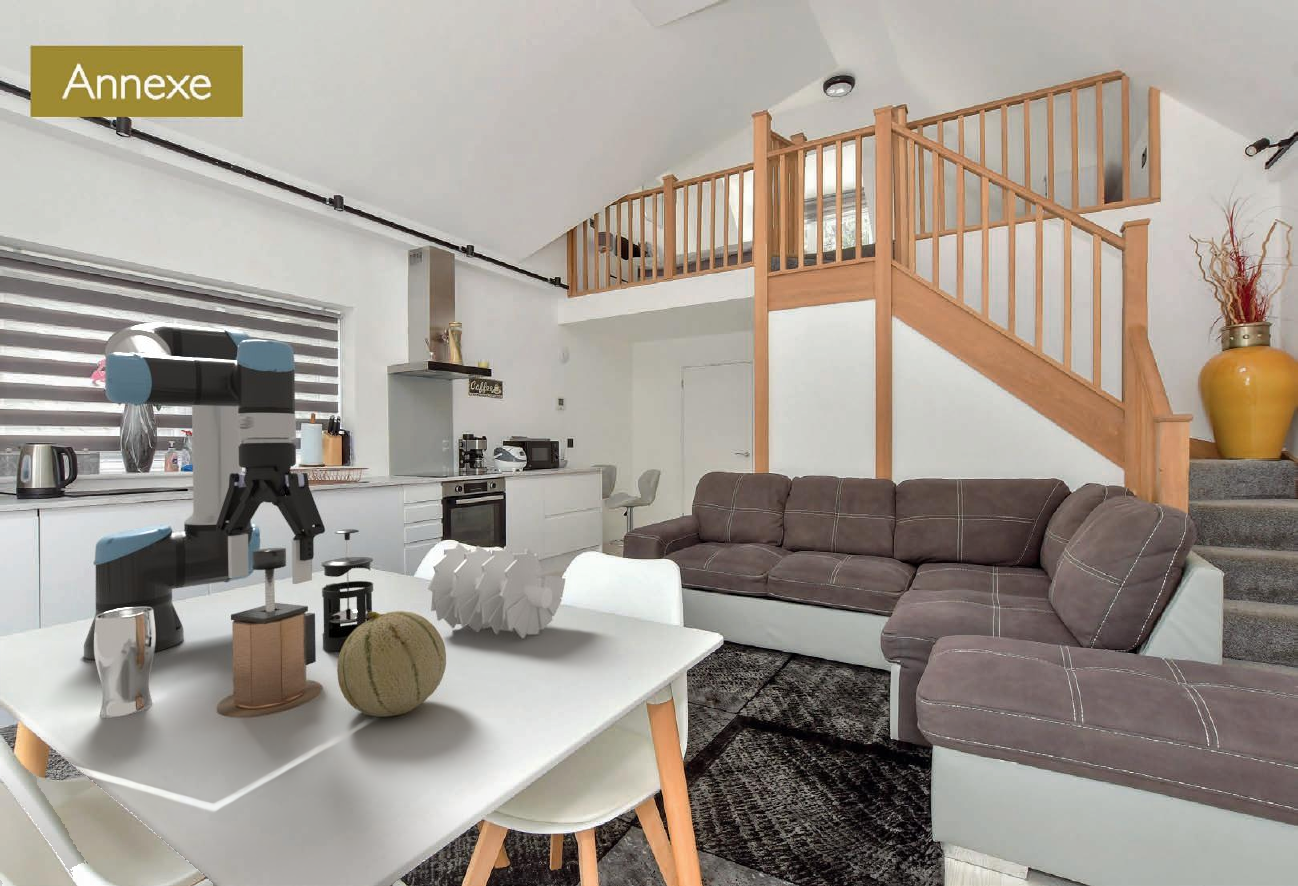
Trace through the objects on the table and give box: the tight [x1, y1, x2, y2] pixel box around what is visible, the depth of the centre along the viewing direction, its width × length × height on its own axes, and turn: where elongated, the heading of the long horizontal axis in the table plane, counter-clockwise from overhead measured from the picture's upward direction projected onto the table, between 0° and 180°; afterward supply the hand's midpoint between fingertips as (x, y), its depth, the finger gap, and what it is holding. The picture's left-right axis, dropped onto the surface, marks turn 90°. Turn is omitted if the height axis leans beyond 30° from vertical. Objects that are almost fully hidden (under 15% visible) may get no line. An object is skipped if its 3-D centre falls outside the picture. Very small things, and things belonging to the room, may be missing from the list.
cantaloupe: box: [336, 610, 447, 718], centre depth 90 cm, size 15×15×15 cm
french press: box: [321, 528, 374, 654], centre depth 119 cm, size 12×9×23 cm
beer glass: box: [94, 607, 156, 719], centre depth 91 cm, size 7×7×15 cm
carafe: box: [230, 602, 317, 710], centre depth 95 cm, size 9×12×13 cm
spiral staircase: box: [428, 543, 566, 639], centre depth 128 cm, size 18×18×25 cm
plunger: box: [252, 547, 287, 613], centre depth 94 cm, size 6×6×21 cm
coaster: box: [215, 679, 324, 719], centre depth 94 cm, size 14×14×1 cm
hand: (269, 579), depth 94 cm, fingers open, 13 cm apart
